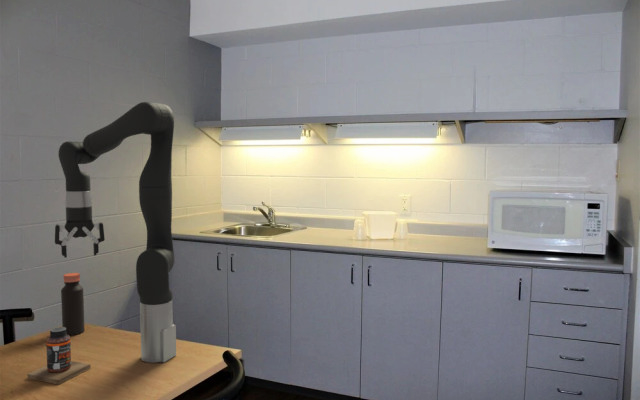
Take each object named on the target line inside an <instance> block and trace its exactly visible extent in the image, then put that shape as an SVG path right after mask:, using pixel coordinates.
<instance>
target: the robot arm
mask: <svg viewBox="0 0 640 400" xmlns="http://www.w3.org/2000/svg"><path fill="white" fill-rule="evenodd" d="M174 116H175V115H174V112H173V111H172V109H171V107H170V106H169V105H167V104H164V103H161V102H160V103H159V102H151V101H141V102H140V103H137V104H135V105H134V106H133V107H131V108H130V109H129V110H128V111H126V112H125V113H124V114H123V115H120V116H119V117H118V118H117V119H115V120H114V121H113V122H111V123H109V124H107V125H105V126H104V127H101V128H99V129H97V130H95V131H93V132H91V133H89V134H87V135H86V136H85V137H84V139H83V140H82V141H71V140H70V141H64V142H63V143H61V145H60V146H59V149H58V159H59V163H60V167H61V168H62V169H61V170H62V172H63V175H64V178H65V200H64V201H65V202H64V203H65V224H58V223H57V224H55V225H54V244H55V245H60V247H61V256H62V257H64V258H68V257H67V256H68V254H67V251H68V250H67V243H68V242H69V241H70V240H71V238H74V239H77V238H86V237H88V238H89V239H90V240H92V241H93V244H92V245H93V249H92V251H93V256H97V254H99V252H100V250H99V248H100V247H99V244H100V243H102V242H104V241H105V230H104V223H103V222H95V223H94V222H93V202H92V198H93V197H92V193H91V175H90V173H88V172H86V171H82V170H81V169H80V166H79V165H88V164H90V163H91V164H92V162H95V161H96V160H97V159H98V158H99V157H100V156H101V155H104V154H106V153H109V152H111V151H113V150H115V149H116V148H118V147H120V145H121V144H122V143H123V142H124V140H125V139H127V138H130V137H131V136H133V137H134V136H136V135H142V134H143V135H150V152H149V155H148V158H147V161H145V162H146V163H145V164H144V167H143V169H142V171H141V173H140V177H139V180H138V201H139V206H140V210H141V213H142V216H143V220H144V223H145V226H146V247H145V248H146V250H144V251H142V252H141V253H140V254H139V255H138V257H137V259H136V263H135V276H136V278H135V279H136V289H137V294H138V296H139V316H140V317H139V320H140V321H139V322H140V327H139V328H140V358H141V361H142V362H145V363H153V364H154V363H166V362H168V361H169V360H170V359H172V358H174V357H175V356H177V328H176V327H177V325H176V324H174V320H173V319H174V318H173V317H174V315H173V313H174V311H173V290H172V289H171V288H170V283H169V273H170V272H171V271H172V269H173V268H174V265H175V251H174V250H175V249H174V243H173V236H172V216H173V182H172V181H173V180H172V161H173V159H172V157H173V156H172V155H173V154H172V153H173V141H174V133H175V132H174V129H175V117H174ZM94 227H95V228H96V230H97V231H98V233H99V237H98V238H97V237H96V236H95V234H93V233H92V230H93V229H95V228H94ZM64 229H65V230H66V231H67V234H66V235H65V236H64V238H63V239H62V240H60V233H61V232H63V230H64Z"/></svg>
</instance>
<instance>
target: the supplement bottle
mask: <svg viewBox="0 0 640 400" xmlns="http://www.w3.org/2000/svg"><path fill="white" fill-rule="evenodd" d="M70 336H71V335H67V334H66V328H65V327H62V326H59V327H53V328H51V329H49V337H47V338H46V342H45V343H46V365H47V370H48V371H49V372H54V373H57V372H63V371H66V370H68V369H69V368H70V367H71V361H72V347H71V345H72V343H71V337H70Z"/></svg>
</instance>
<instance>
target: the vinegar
mask: <svg viewBox="0 0 640 400" xmlns="http://www.w3.org/2000/svg"><path fill="white" fill-rule="evenodd" d="M80 275H81V274H80V273H79V272H70V273H65V274H63V283H64V286H63V287H62V288H61V290H60V295H61V296H60V298H61V322H62V323H61V324H62V325H61V327H65V328H66V334H67V335H69V336H76V335H80V334H83V333H84V332H85V305H84V303H85V302H84V301H85V300H84V288H83V286H82V285H81V284H80V282H81V281H80V280H81V278H80V277H81V276H80Z"/></svg>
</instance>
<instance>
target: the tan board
mask: <svg viewBox="0 0 640 400" xmlns="http://www.w3.org/2000/svg"><path fill="white" fill-rule="evenodd" d="M90 369H91V364H90V363H85V362H79V361H74V360H71V367H70V368H69V369H68V370H66V371H63V372H57V373H54V372H49V371H48V370H47V364H46V365H44V366H42V367H39V368H37V369H35V370H33V371H30V372H28V373H27V379H28V380H34V381H38V382H39V381H40V382H45V383H50V384H55V385H61V384H63V383H65V382H67V381H69V380H71V379H73V378H75V377H77V376H79V375H80V374H83V373H85V372H87V371H89V370H90Z"/></svg>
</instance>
